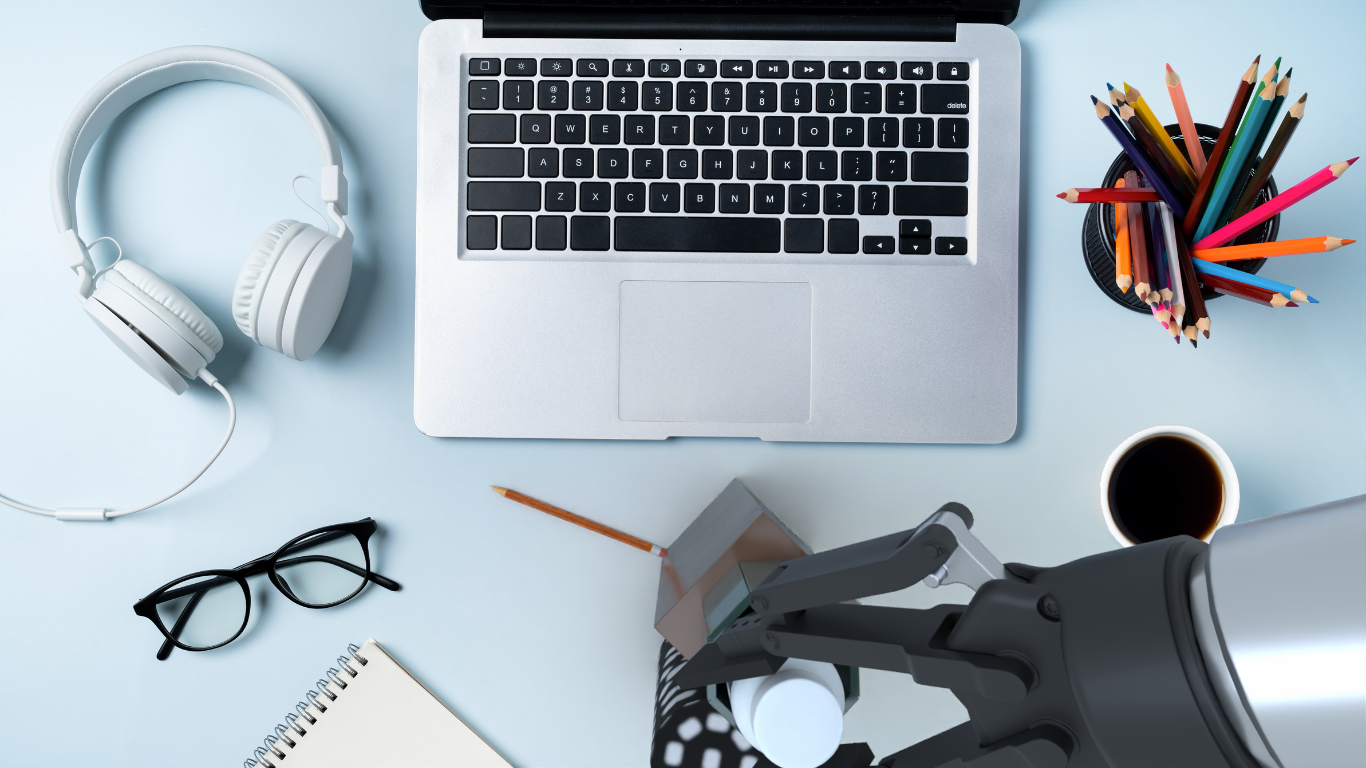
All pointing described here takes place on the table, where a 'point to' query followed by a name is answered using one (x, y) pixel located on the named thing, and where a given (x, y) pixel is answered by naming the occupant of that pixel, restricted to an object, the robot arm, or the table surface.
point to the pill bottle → (791, 712)
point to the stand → (717, 560)
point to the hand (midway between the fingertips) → (725, 720)
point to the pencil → (580, 521)
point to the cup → (733, 604)
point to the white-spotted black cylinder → (692, 725)
